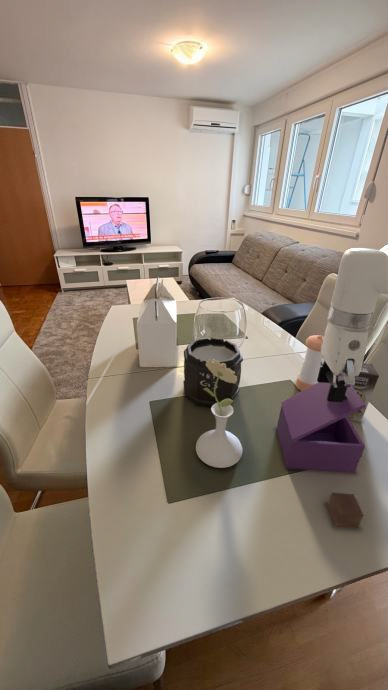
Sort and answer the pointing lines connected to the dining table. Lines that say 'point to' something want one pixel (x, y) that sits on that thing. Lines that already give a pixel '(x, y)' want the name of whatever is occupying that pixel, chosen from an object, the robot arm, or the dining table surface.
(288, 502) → the dining table surface
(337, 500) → the block
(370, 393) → the coffee box
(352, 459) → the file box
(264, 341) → the dining table surface
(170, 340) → the gable box
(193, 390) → the black pot
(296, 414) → the lid
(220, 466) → the flower in vase
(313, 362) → the pepper shaker
